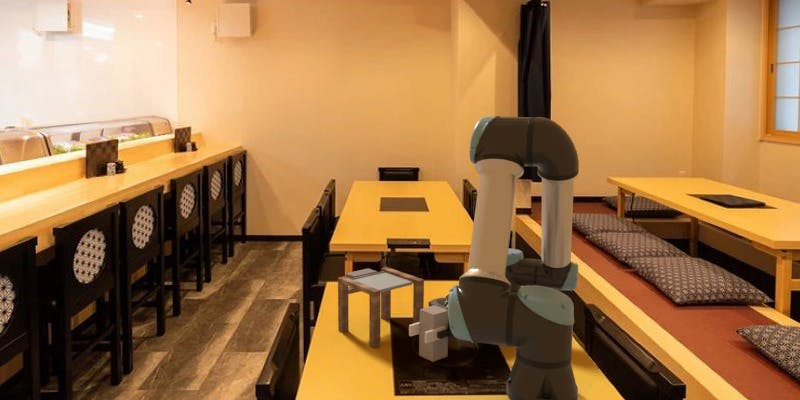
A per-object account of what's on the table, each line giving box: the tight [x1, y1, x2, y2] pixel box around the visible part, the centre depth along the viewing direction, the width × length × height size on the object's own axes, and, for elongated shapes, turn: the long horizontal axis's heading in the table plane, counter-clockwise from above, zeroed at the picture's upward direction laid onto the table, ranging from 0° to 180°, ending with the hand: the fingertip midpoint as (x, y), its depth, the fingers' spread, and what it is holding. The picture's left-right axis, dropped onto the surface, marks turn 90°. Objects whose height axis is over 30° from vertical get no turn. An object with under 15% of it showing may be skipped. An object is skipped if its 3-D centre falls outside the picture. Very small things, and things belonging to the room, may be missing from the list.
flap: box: [345, 268, 413, 294], centre depth 172 cm, size 17×12×2 cm
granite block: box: [418, 305, 449, 363], centre depth 155 cm, size 5×5×12 cm
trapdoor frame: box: [337, 266, 425, 349], centre depth 171 cm, size 16×17×15 cm
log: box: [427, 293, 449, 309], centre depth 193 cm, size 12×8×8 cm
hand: (417, 334), depth 152 cm, fingers closed on granite block, 5 cm apart
